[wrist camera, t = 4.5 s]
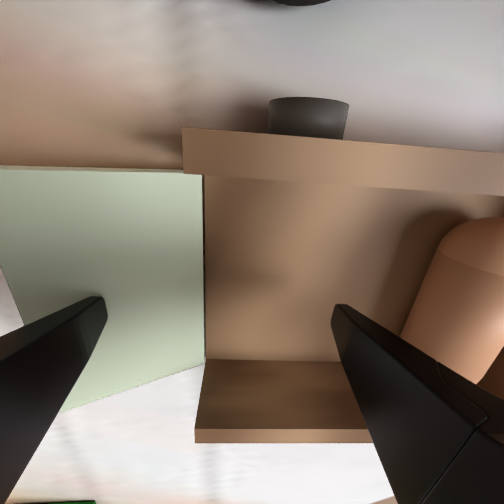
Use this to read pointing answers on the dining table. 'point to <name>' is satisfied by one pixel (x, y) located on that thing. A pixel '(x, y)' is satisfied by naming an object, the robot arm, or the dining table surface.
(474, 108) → the dining table surface
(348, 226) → the wooden drawer box
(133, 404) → the dining table surface
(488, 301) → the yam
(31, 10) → the dining table surface
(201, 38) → the dining table surface
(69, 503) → the milk carton
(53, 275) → the tailgate
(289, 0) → the beverage can
